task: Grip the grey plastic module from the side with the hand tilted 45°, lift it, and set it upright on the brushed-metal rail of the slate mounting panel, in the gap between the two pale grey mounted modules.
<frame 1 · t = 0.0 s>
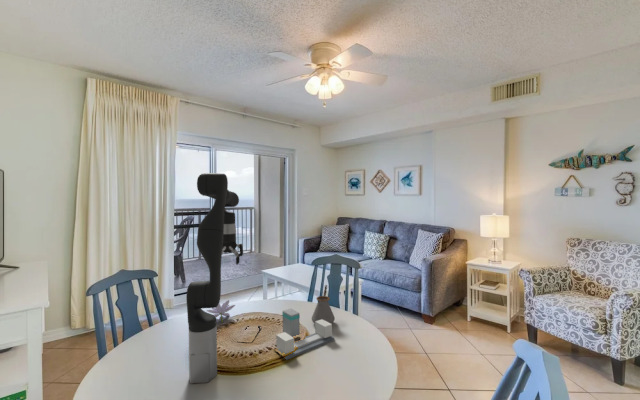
hand: (228, 264, 149), 29 cm above the table, tool pointing down, fingers open, 8 cm apart
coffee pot: (324, 320, 151), on the table
rail panel: (305, 345, 125), on the table
water lily: (221, 319, 154), on the table
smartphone: (249, 336, 135), on the table
module: (291, 336, 134), on the table
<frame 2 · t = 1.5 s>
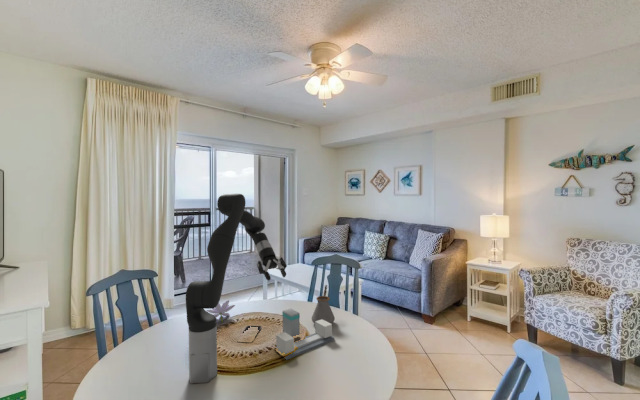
hand: (277, 278, 142), 24 cm above the table, tool tilted 45°, fingers open, 8 cm apart
nothing on the table moved.
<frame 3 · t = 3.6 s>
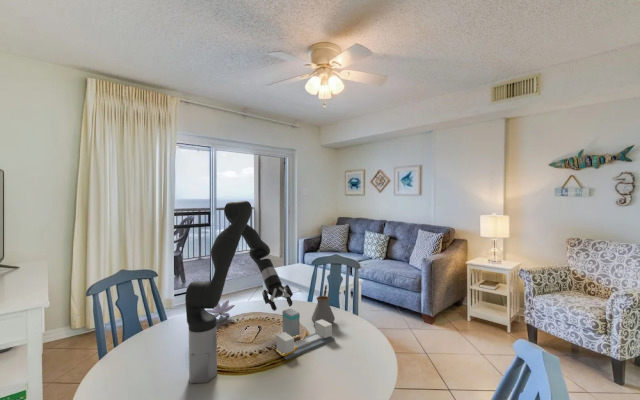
hand: (283, 307, 138), 11 cm above the table, tool tilted 45°, fingers open, 8 cm apart
nothing on the table moved.
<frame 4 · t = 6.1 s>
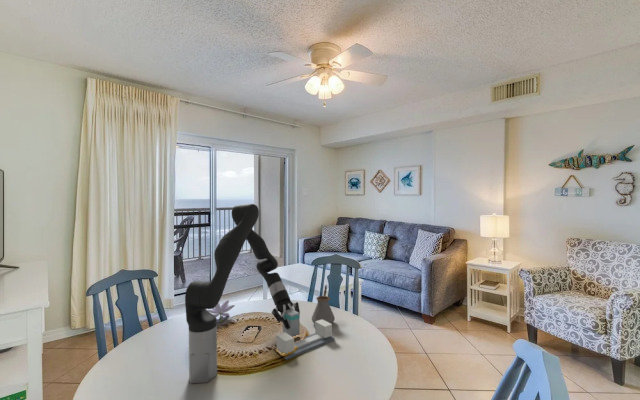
hand: (293, 327, 132), 5 cm above the table, tool tilted 45°, fingers closed on module, 4 cm apart
module: (291, 336, 134), on the table, touching gripper
everything else where it was.
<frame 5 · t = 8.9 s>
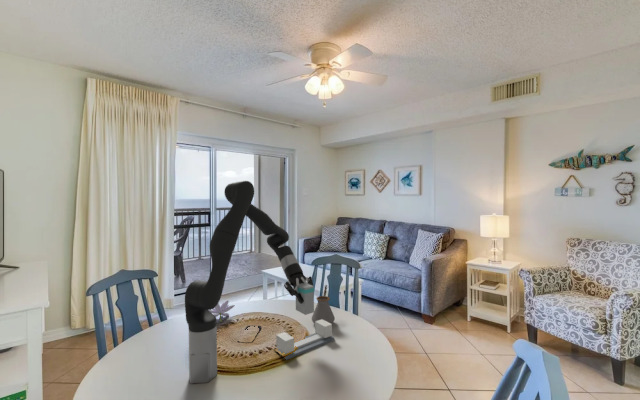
hand: (307, 301, 123), 19 cm above the table, tool tilted 45°, fingers closed on module, 4 cm apart
module: (304, 311, 125), point 15 cm above the table, touching gripper
everything else where it was.
when the fingers open (8 cm above the table, at t = 11.7 s): module drops 1 cm, resting on rail panel.
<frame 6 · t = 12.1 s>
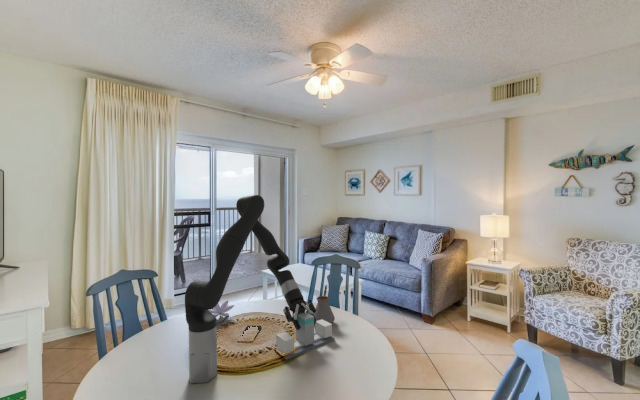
hand: (307, 326, 124), 8 cm above the table, tool tilted 45°, fingers open, 7 cm apart
module: (305, 341, 125), point 2 cm above the table, touching rail panel
everything else where it was.
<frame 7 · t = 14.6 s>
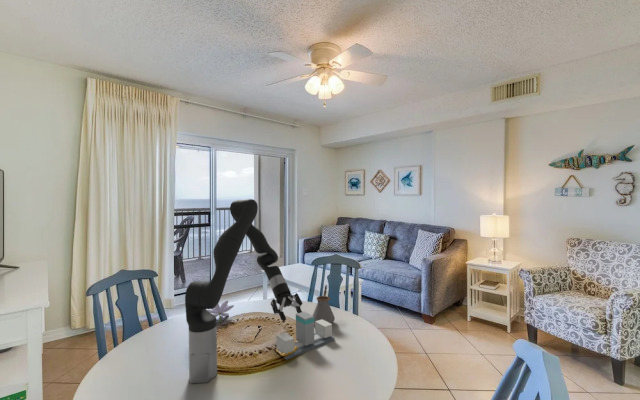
hand: (292, 317, 132), 9 cm above the table, tool tilted 45°, fingers open, 8 cm apart
nothing on the table moved.
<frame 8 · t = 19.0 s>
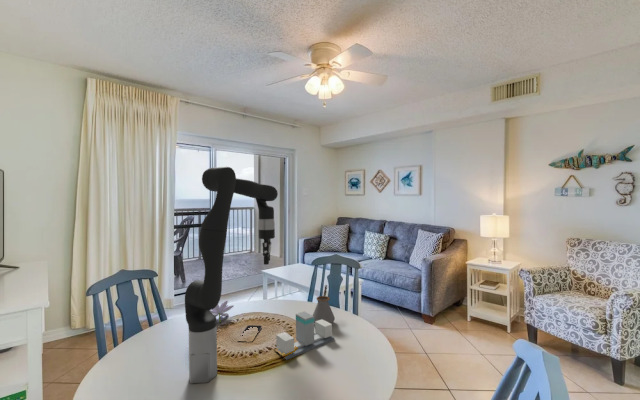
hand: (267, 262, 140), 32 cm above the table, tool pointing down, fingers open, 8 cm apart
nothing on the table moved.
at the end: module 0.1 cm off-centre on the rail panel, point 1.8 cm above the rail panel's base; module tilted 0°; the gripper is holding nothing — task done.
